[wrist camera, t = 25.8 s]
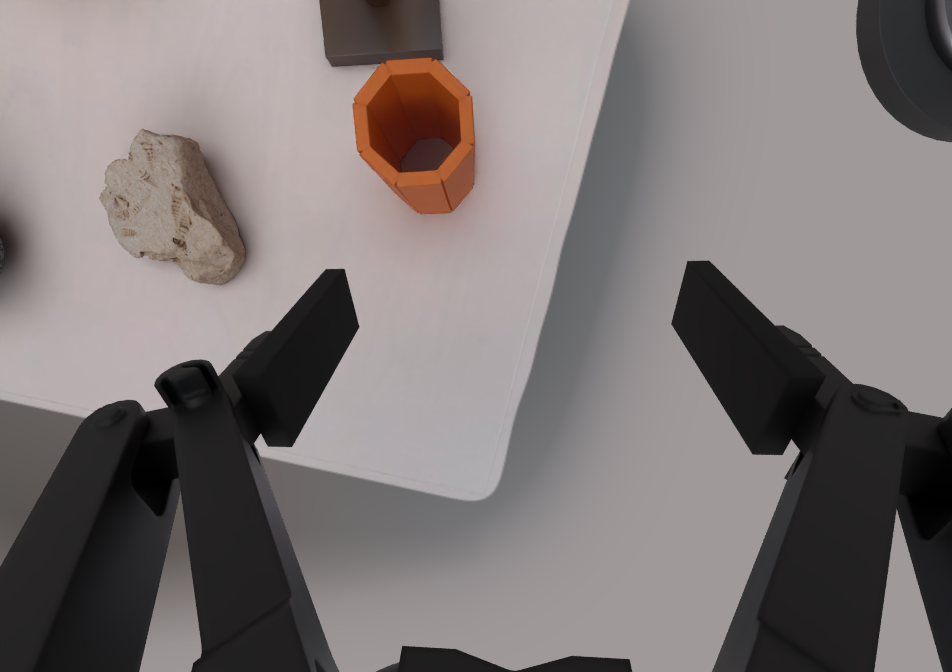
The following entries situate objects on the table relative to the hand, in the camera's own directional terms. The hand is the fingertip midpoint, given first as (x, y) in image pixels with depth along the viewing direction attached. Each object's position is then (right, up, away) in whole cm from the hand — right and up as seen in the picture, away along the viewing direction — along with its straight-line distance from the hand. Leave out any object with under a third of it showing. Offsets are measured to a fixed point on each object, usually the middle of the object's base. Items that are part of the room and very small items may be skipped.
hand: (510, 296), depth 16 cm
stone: (-25, +9, +18) cm, 32 cm away
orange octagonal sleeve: (-5, +12, +18) cm, 22 cm away
